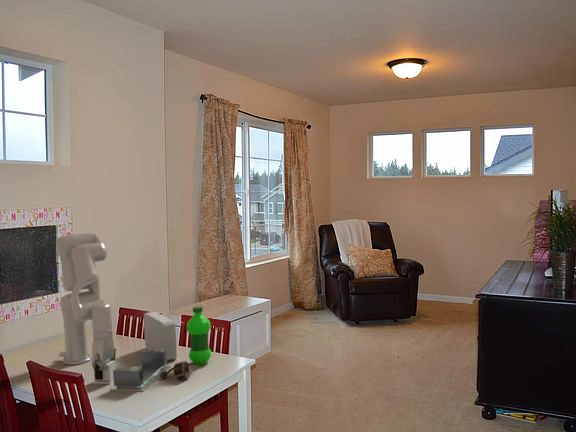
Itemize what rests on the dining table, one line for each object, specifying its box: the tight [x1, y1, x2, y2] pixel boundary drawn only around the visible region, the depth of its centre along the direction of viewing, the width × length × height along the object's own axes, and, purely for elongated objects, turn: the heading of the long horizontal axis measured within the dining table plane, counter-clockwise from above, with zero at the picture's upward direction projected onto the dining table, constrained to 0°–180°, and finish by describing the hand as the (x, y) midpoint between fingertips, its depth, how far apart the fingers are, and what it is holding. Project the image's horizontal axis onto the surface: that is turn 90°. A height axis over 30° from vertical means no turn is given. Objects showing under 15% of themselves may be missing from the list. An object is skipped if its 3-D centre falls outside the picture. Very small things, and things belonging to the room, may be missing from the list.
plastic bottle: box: [186, 305, 212, 366], centre depth 236 cm, size 10×10×25 cm
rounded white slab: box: [143, 311, 178, 362], centre depth 253 cm, size 29×8×18 cm, turn 33°
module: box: [93, 360, 117, 385], centre depth 218 cm, size 7×5×8 cm
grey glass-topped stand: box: [109, 348, 172, 392], centre depth 220 cm, size 14×27×9 cm, turn 169°
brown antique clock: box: [159, 360, 192, 381], centre depth 219 cm, size 7×13×10 cm
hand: (105, 375), depth 218 cm, fingers open, 9 cm apart
